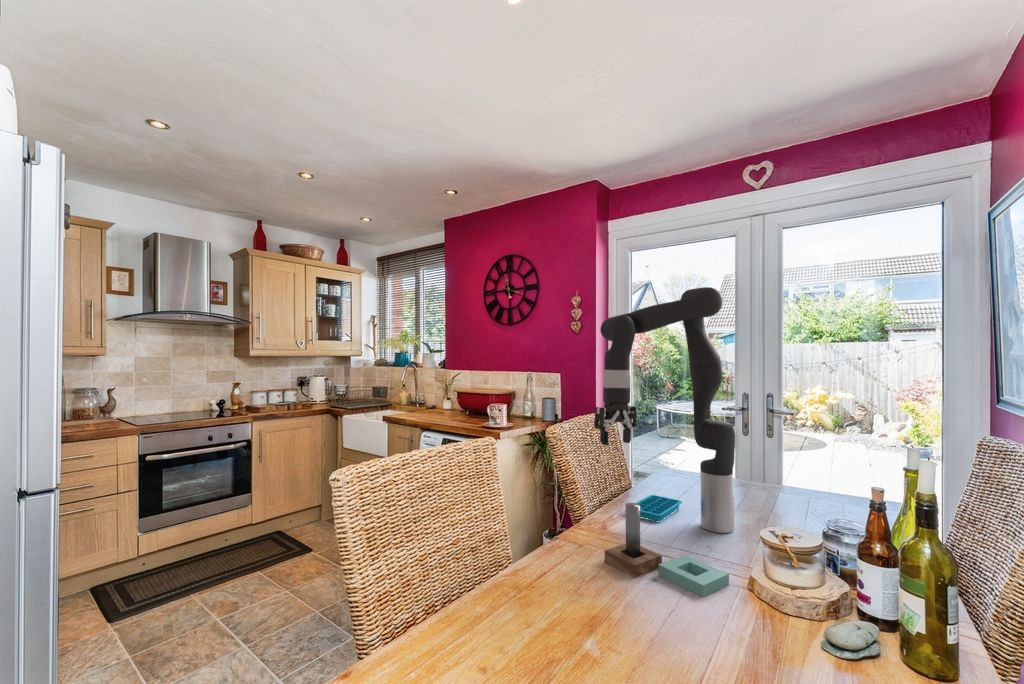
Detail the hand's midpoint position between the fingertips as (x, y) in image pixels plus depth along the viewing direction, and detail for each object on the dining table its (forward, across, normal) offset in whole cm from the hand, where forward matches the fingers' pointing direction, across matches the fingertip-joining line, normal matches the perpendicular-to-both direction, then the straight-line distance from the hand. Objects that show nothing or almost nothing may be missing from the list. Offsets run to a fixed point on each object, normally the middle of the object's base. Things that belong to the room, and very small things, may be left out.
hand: (615, 443), depth 126 cm
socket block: (+28, +4, +10) cm, 31 cm away
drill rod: (+28, +4, +10) cm, 31 cm away
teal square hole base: (+28, -3, +23) cm, 37 cm away
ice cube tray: (+28, -33, -14) cm, 46 cm away
